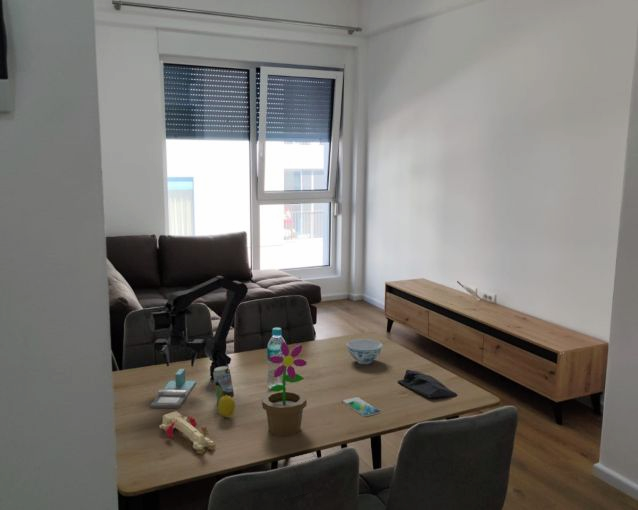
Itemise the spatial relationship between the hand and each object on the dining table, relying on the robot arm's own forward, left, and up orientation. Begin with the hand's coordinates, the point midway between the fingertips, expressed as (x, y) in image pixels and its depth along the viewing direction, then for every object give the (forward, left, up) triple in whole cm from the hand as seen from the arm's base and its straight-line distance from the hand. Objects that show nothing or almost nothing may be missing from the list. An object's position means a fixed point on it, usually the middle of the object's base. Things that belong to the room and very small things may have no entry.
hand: (180, 366), depth 217 cm
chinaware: (-71, -31, -8) cm, 78 cm away
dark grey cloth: (-93, -2, -9) cm, 94 cm away
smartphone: (-68, +16, -9) cm, 70 cm away
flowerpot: (-43, +34, -8) cm, 55 cm away
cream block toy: (-13, +41, -8) cm, 44 cm away
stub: (0, 0, -8) cm, 8 cm away
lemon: (-23, +27, -8) cm, 36 cm away
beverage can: (-19, +12, -8) cm, 24 cm away
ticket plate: (0, +12, -8) cm, 14 cm away
